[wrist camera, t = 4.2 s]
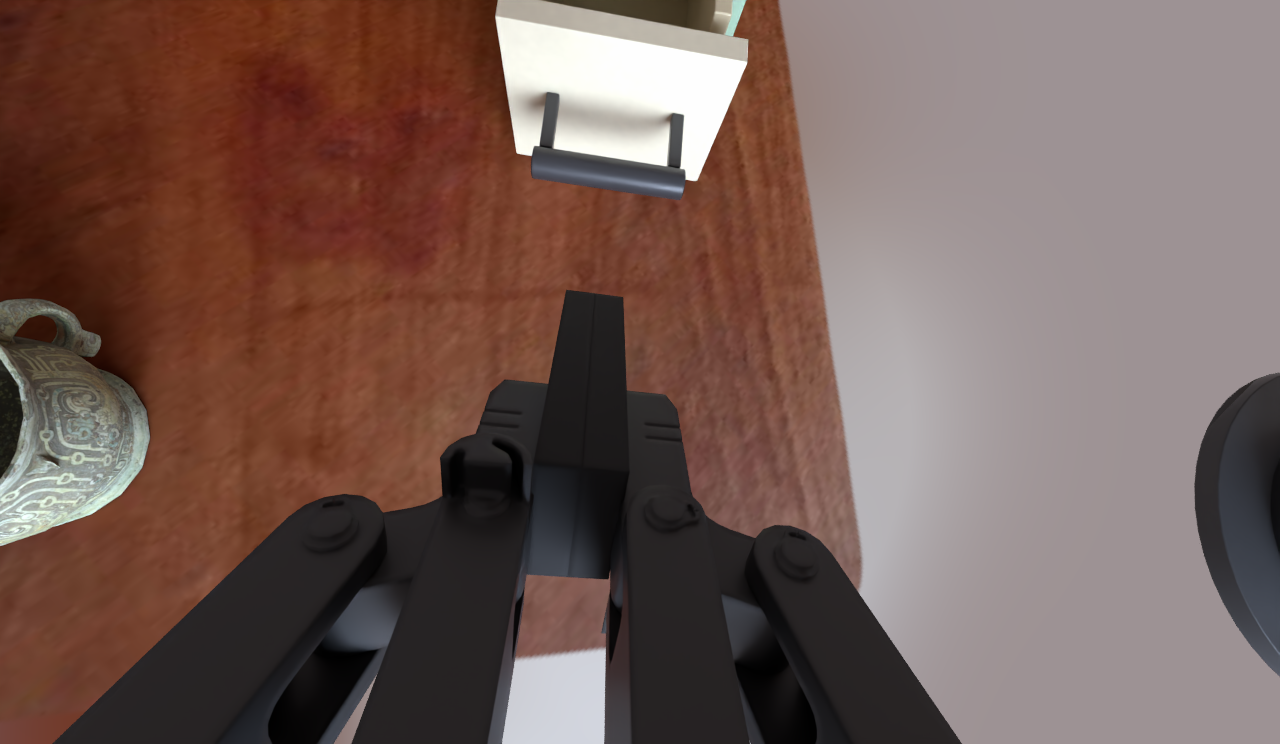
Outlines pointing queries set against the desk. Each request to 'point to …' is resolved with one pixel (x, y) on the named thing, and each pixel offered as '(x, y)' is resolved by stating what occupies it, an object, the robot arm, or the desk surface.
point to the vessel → (61, 425)
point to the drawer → (618, 88)
